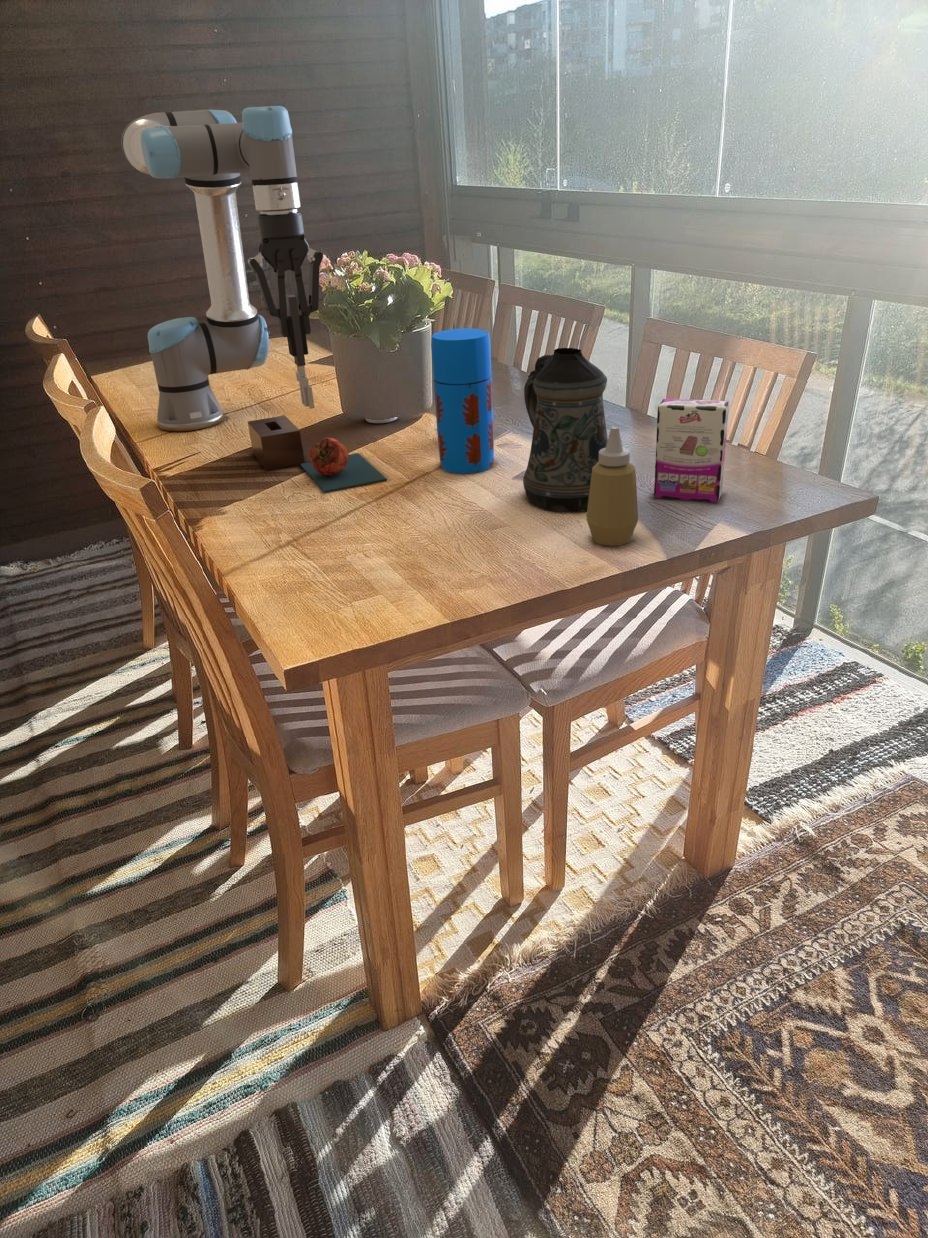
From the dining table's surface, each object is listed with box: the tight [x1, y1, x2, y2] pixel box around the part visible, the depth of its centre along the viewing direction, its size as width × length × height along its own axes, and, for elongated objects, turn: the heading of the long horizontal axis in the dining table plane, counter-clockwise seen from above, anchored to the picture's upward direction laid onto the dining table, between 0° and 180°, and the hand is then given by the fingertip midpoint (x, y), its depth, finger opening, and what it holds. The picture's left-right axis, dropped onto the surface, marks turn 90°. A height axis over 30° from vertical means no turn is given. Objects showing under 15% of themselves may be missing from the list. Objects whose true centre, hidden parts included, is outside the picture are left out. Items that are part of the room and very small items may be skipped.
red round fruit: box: [309, 437, 350, 476], centre depth 170 cm, size 7×7×10 cm
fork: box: [286, 294, 315, 410], centre depth 160 cm, size 6×2×20 cm, turn 24°
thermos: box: [430, 327, 495, 475], centre depth 168 cm, size 11×11×25 cm
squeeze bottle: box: [586, 426, 639, 547], centre depth 135 cm, size 8×8×18 cm
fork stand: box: [247, 414, 306, 472], centre depth 182 cm, size 13×8×7 cm, turn 24°
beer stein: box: [522, 347, 609, 513], centre depth 151 cm, size 16×19×25 cm
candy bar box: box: [653, 398, 730, 503], centre depth 149 cm, size 11×5×16 cm, turn 69°
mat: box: [299, 452, 388, 494], centre depth 174 cm, size 18×12×1 cm
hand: (298, 353), depth 160 cm, fingers closed on fork, 1 cm apart
